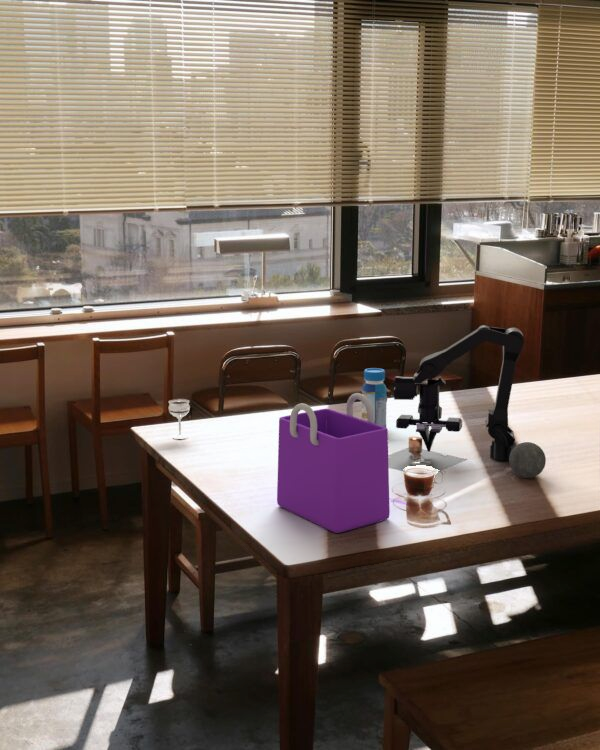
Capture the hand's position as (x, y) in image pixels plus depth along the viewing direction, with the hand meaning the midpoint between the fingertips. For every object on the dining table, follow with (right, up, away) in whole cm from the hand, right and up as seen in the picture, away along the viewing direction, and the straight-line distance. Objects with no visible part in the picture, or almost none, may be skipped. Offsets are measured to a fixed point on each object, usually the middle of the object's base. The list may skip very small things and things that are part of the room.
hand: (429, 451), depth 303 cm
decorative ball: (+25, -6, -16) cm, 30 cm away
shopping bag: (-30, -13, -43) cm, 54 cm away
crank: (-4, -2, -4) cm, 6 cm away
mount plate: (-4, -4, -4) cm, 6 cm away
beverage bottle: (-14, +4, +33) cm, 36 cm away
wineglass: (-76, +2, +24) cm, 80 cm away
